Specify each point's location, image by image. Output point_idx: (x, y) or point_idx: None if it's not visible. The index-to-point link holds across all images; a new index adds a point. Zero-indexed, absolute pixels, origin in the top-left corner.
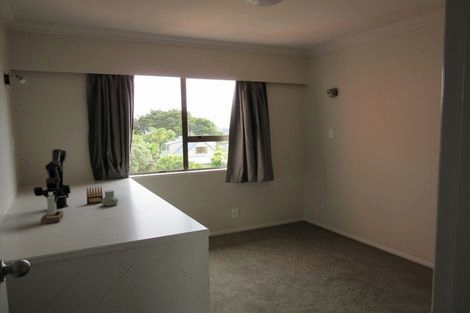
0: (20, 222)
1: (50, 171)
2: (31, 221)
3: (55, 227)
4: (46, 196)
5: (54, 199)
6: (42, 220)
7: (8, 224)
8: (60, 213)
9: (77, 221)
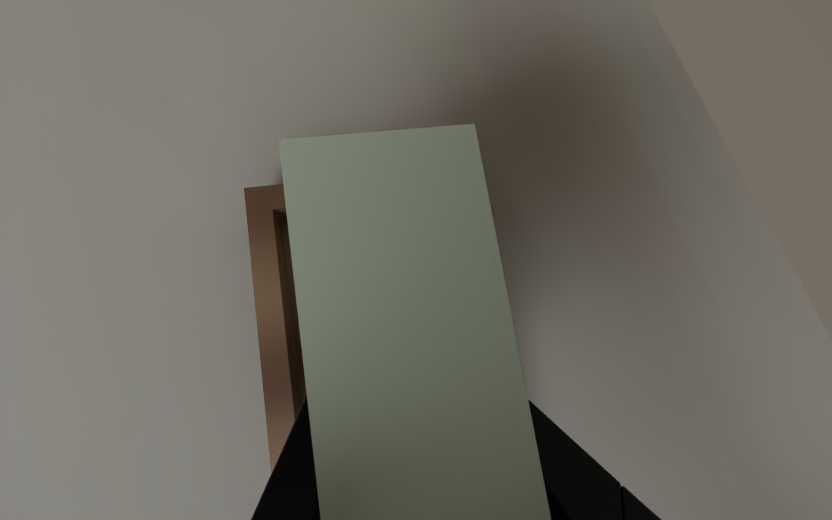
0: (699, 343)
1: None
2: (602, 354)
3: (252, 19)
4: (626, 501)
5: None
6: None
7: (775, 293)
8: (279, 420)
9: (35, 185)
